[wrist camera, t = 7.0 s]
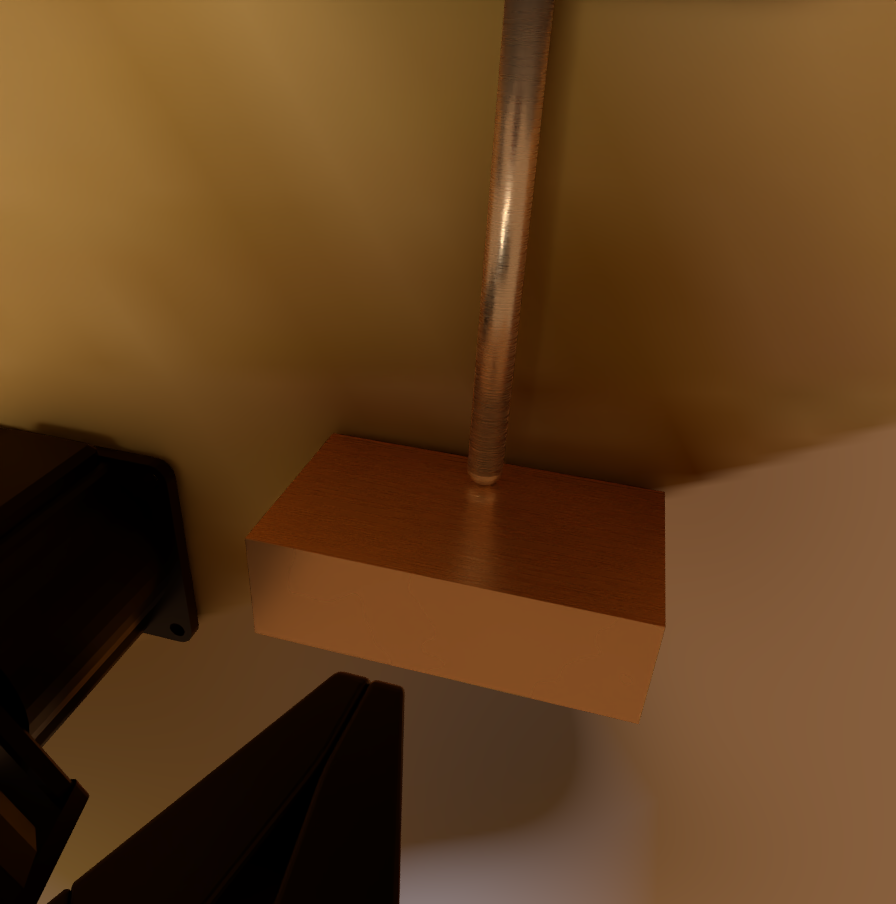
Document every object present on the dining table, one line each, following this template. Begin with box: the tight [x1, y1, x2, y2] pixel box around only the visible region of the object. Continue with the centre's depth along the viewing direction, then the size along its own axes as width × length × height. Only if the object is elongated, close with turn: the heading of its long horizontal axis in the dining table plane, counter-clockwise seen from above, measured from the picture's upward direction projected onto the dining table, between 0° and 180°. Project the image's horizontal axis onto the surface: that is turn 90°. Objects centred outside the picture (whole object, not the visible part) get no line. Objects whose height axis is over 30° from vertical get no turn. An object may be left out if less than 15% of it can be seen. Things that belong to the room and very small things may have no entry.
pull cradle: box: [245, 0, 665, 724], centre depth 11 cm, size 21×9×4 cm, turn 177°
